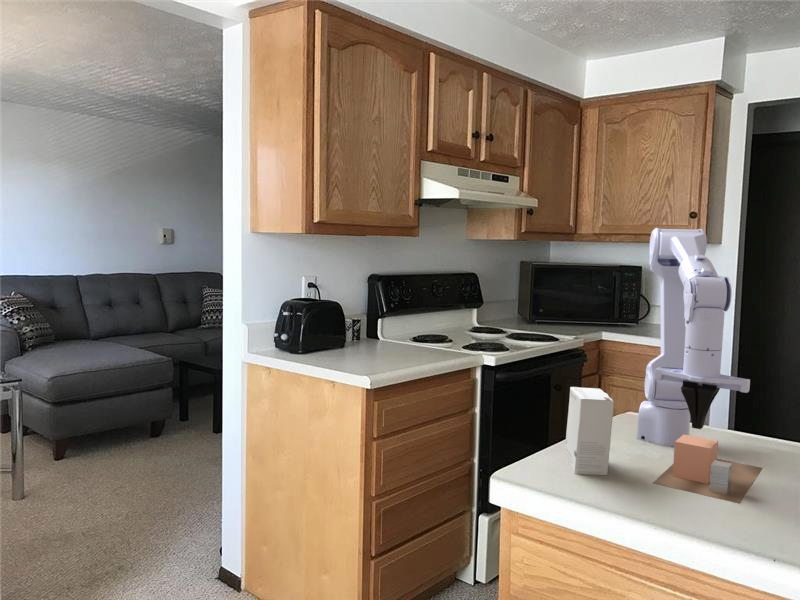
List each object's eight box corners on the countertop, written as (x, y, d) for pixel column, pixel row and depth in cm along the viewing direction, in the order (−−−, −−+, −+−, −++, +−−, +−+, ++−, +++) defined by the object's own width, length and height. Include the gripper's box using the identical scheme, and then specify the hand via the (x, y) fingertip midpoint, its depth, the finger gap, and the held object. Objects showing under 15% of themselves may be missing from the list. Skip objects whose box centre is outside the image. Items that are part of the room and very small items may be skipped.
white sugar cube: (709, 491, 107) (711, 464, 106) (712, 486, 109) (714, 460, 109) (726, 495, 105) (728, 467, 105) (730, 490, 107) (732, 463, 107)
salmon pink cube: (672, 475, 114) (674, 441, 113) (681, 467, 118) (683, 434, 117) (707, 483, 110) (710, 448, 110) (715, 474, 115) (718, 440, 114)
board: (651, 491, 110) (652, 482, 110) (685, 460, 127) (685, 452, 127) (738, 512, 102) (739, 503, 102) (761, 475, 119) (762, 467, 119)
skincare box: (563, 466, 122) (567, 386, 120) (596, 467, 122) (600, 386, 120) (574, 483, 113) (579, 397, 112) (610, 484, 113) (615, 398, 112)
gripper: (651, 345, 113) (646, 424, 114) (746, 356, 105) (740, 441, 106) (663, 341, 119) (658, 416, 120) (754, 351, 110) (748, 431, 111)
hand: (697, 427), depth 113 cm, fingers closed
